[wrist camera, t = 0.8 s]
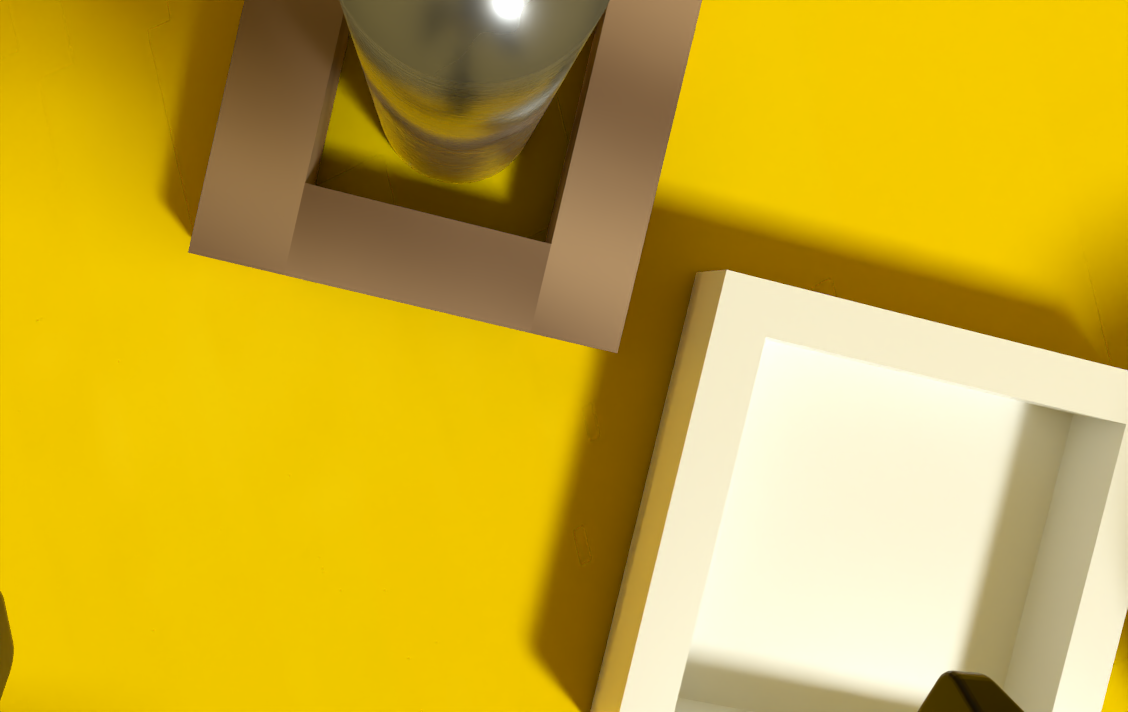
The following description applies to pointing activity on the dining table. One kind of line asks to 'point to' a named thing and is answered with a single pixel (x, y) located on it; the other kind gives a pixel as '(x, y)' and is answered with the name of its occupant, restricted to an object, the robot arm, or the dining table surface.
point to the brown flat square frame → (428, 242)
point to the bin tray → (870, 515)
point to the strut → (465, 75)
